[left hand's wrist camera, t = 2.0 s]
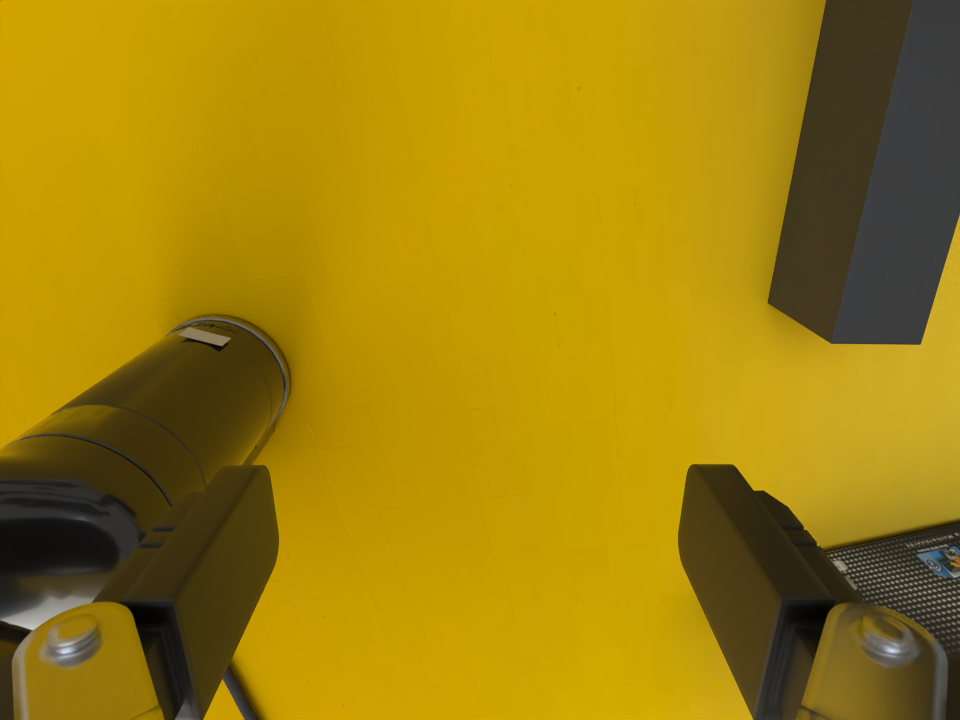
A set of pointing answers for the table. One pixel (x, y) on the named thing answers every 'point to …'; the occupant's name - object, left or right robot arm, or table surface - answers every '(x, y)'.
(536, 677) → the table surface
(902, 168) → the bar
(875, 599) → the box
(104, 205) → the table surface
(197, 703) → the left robot arm
